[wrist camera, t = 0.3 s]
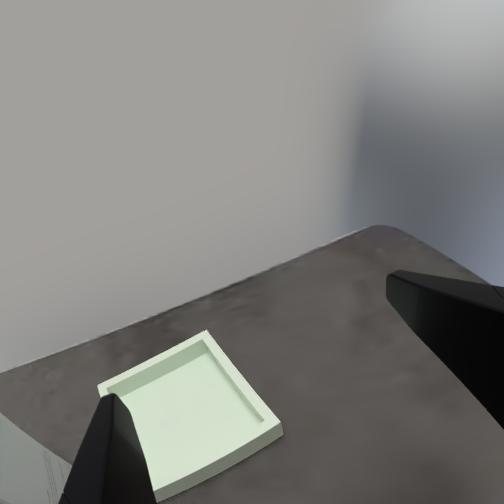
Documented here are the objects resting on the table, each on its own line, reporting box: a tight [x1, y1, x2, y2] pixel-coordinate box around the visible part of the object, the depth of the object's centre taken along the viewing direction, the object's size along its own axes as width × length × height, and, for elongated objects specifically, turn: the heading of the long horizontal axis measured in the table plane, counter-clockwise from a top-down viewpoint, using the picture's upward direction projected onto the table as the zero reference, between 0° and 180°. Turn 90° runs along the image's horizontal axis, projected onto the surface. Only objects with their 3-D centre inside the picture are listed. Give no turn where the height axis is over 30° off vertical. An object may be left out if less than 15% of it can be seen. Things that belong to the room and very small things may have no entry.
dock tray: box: [97, 330, 284, 503], centre depth 23 cm, size 12×12×2 cm
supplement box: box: [0, 413, 72, 504], centre depth 12 cm, size 7×7×13 cm
